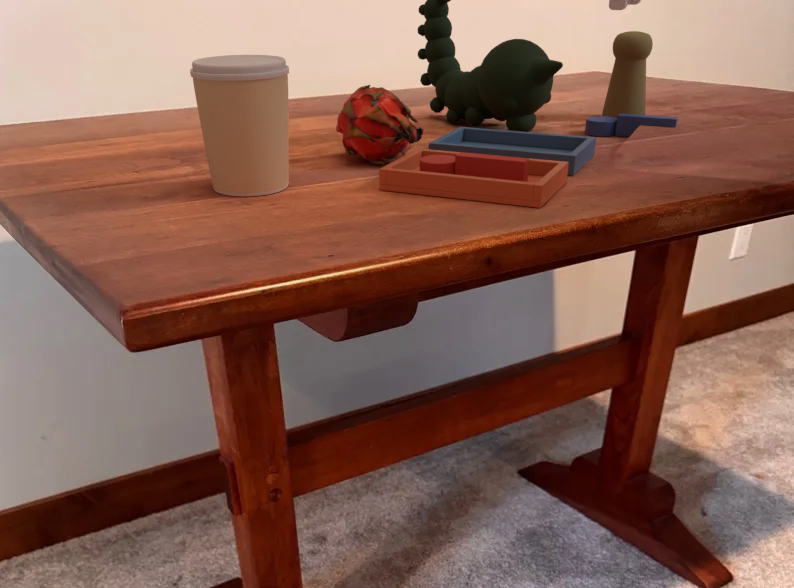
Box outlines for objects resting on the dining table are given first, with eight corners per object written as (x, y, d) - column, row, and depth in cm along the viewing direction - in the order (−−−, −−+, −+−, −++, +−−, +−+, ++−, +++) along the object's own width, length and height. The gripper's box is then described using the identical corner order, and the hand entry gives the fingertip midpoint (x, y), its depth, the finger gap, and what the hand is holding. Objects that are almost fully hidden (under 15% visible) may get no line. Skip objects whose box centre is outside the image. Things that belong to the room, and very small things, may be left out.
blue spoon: (676, 136, 101) (679, 115, 100) (671, 142, 98) (675, 121, 97) (588, 129, 106) (590, 109, 104) (581, 135, 102) (583, 114, 101)
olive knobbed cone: (623, 123, 109) (635, 34, 103) (592, 116, 113) (601, 31, 108) (654, 118, 111) (667, 32, 106) (622, 112, 116) (633, 28, 110)
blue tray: (594, 155, 92) (596, 137, 91) (573, 175, 84) (575, 155, 83) (459, 144, 98) (459, 126, 97) (428, 162, 90) (428, 142, 89)
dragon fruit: (356, 160, 98) (407, 197, 90) (305, 125, 92) (355, 161, 84) (395, 99, 96) (450, 131, 88) (346, 59, 90) (401, 89, 82)
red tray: (566, 182, 82) (568, 161, 81) (540, 208, 74) (542, 185, 73) (418, 167, 88) (418, 148, 87) (379, 190, 80) (379, 168, 79)
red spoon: (530, 181, 80) (533, 155, 79) (519, 190, 77) (521, 164, 76) (428, 170, 85) (428, 146, 83) (413, 179, 81) (413, 154, 80)
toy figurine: (406, 130, 114) (533, 142, 96) (398, -19, 106) (535, -37, 88) (456, 122, 119) (585, 132, 101) (452, -22, 111) (593, -39, 92)
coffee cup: (308, 177, 85) (301, 54, 79) (278, 201, 77) (267, 67, 71) (226, 173, 87) (213, 53, 81) (189, 196, 79) (171, 65, 73)
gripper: (659, -149, 75) (638, 13, 82) (684, -133, 92) (665, 2, 99) (593, -145, 78) (577, 12, 85) (628, -131, 94) (613, 1, 101)
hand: (625, 7), depth 92 cm, fingers open, 8 cm apart
